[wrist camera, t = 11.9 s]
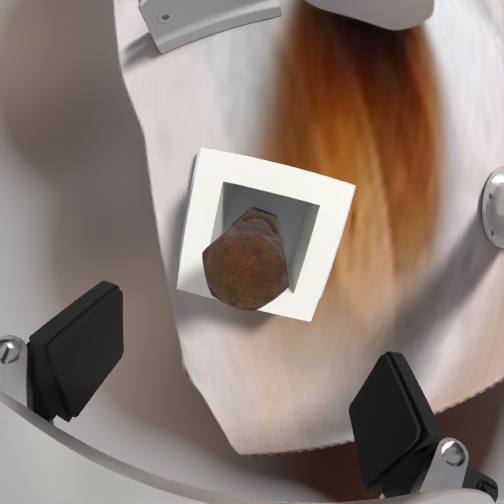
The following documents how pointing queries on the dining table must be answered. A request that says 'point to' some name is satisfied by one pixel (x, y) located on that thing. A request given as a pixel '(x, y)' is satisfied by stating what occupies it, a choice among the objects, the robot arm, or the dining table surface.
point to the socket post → (275, 202)
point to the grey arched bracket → (200, 18)
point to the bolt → (247, 262)
